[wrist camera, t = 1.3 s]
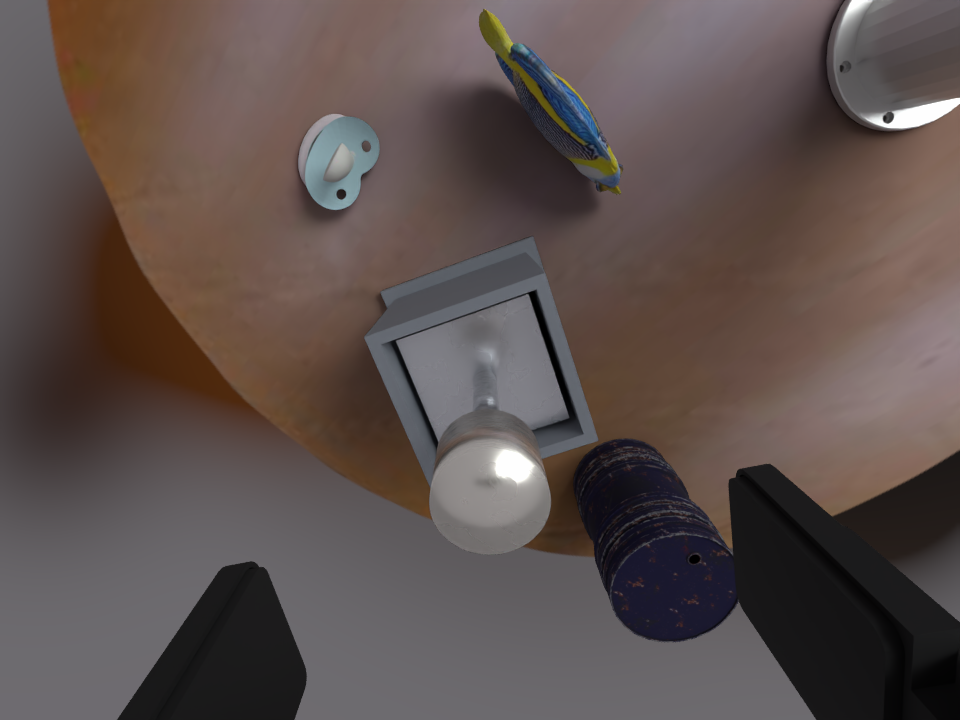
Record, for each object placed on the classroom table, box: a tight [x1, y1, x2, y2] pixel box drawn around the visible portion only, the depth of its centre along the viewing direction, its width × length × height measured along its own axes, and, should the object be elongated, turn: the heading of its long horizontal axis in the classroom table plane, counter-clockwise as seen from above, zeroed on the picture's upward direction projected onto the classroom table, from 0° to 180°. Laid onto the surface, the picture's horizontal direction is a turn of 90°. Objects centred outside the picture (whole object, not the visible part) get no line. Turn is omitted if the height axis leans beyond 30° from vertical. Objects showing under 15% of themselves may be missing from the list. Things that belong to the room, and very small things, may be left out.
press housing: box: [364, 236, 599, 488], centre depth 40 cm, size 14×14×14 cm
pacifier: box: [298, 114, 379, 210], centre depth 39 cm, size 7×6×6 cm
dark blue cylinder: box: [573, 439, 739, 642], centre depth 44 cm, size 10×10×15 cm
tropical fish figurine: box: [479, 9, 623, 195], centre depth 37 cm, size 16×3×10 cm, turn 45°
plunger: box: [396, 293, 569, 555], centre depth 29 cm, size 9×9×16 cm
